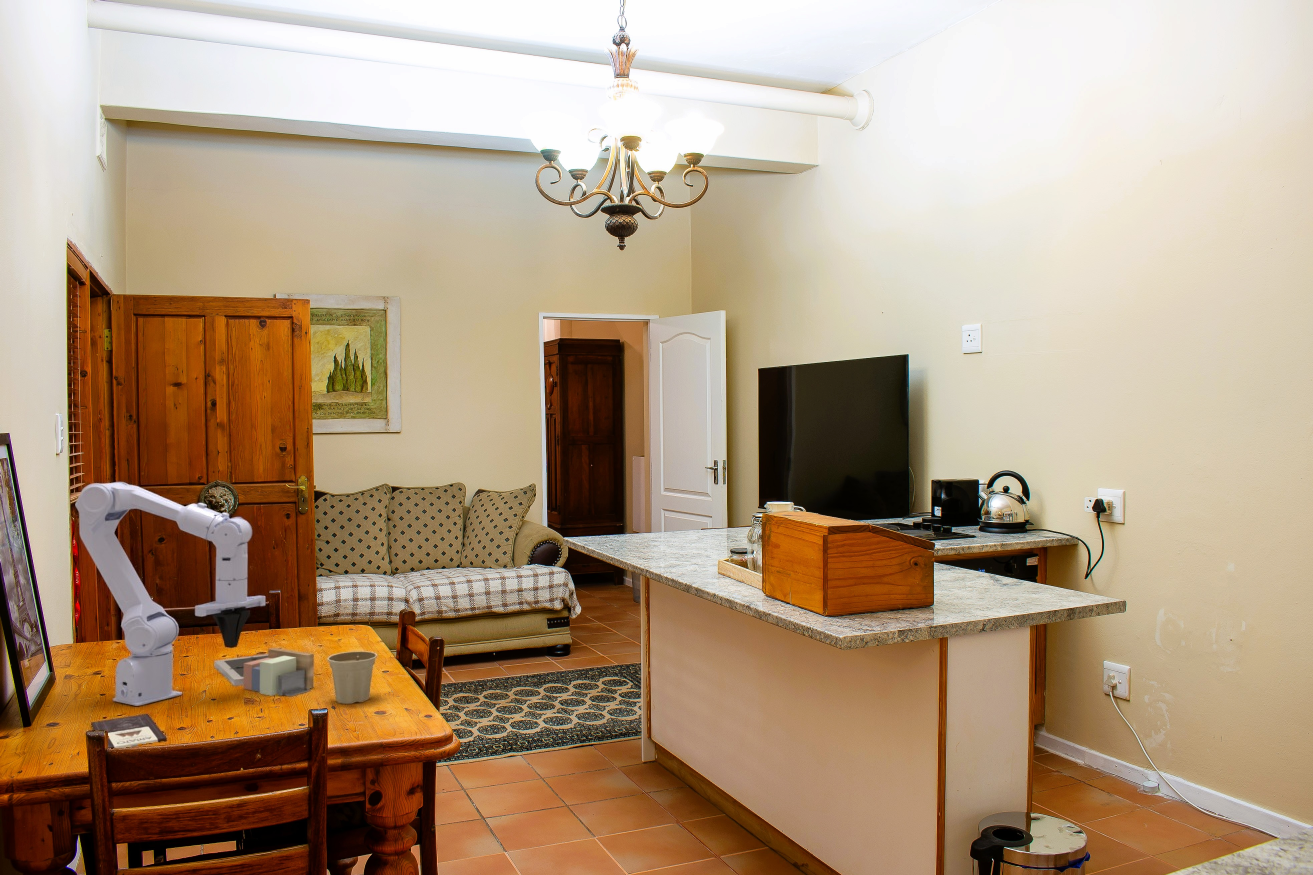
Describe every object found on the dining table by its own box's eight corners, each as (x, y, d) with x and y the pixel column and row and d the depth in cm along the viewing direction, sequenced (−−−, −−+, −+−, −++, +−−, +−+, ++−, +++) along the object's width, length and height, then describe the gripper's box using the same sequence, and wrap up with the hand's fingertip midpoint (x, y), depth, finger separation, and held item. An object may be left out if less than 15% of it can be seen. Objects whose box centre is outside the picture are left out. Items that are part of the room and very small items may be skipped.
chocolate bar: (147, 713, 168) (166, 737, 154) (147, 718, 168) (166, 743, 154) (90, 722, 163) (105, 748, 148) (90, 727, 163) (104, 754, 148)
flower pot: (323, 707, 174) (323, 662, 174) (330, 694, 183) (331, 651, 183) (374, 705, 176) (374, 660, 176) (379, 692, 185) (379, 650, 185)
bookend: (288, 697, 181) (288, 676, 181) (278, 695, 183) (278, 675, 183) (312, 690, 187) (312, 670, 187) (302, 688, 188) (302, 668, 188)
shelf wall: (307, 689, 187) (307, 655, 187) (267, 681, 193) (268, 648, 193) (313, 687, 189) (313, 653, 189) (273, 680, 194) (274, 647, 194)
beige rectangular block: (271, 695, 182) (271, 663, 182) (259, 693, 184) (260, 661, 184) (295, 688, 188) (296, 657, 188) (284, 686, 189) (284, 655, 189)
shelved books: (259, 691, 185) (259, 666, 185) (243, 688, 188) (243, 663, 188) (284, 684, 191) (284, 660, 191) (267, 681, 193) (268, 657, 193)
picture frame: (311, 678, 199) (286, 660, 216) (311, 665, 199) (287, 648, 216) (234, 689, 190) (214, 669, 206) (234, 675, 190) (214, 657, 206)
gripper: (212, 584, 174) (211, 656, 173) (275, 575, 186) (275, 642, 186) (188, 582, 177) (187, 652, 177) (252, 573, 190) (252, 638, 189)
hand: (230, 646), depth 182 cm, fingers closed
